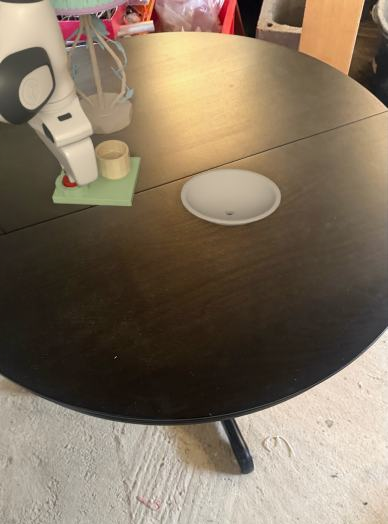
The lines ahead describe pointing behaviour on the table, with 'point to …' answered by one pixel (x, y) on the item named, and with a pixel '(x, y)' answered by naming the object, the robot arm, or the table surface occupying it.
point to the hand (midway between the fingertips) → (71, 177)
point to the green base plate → (101, 189)
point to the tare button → (68, 182)
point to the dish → (230, 196)
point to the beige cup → (113, 159)
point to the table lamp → (101, 104)
